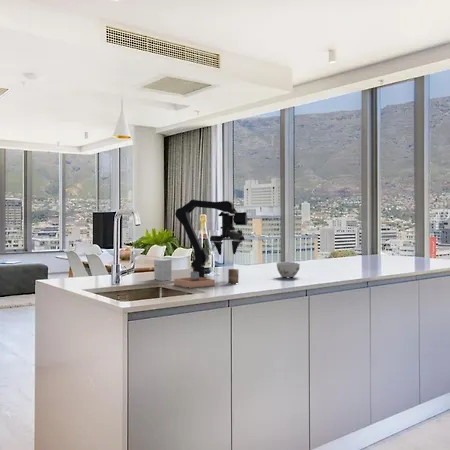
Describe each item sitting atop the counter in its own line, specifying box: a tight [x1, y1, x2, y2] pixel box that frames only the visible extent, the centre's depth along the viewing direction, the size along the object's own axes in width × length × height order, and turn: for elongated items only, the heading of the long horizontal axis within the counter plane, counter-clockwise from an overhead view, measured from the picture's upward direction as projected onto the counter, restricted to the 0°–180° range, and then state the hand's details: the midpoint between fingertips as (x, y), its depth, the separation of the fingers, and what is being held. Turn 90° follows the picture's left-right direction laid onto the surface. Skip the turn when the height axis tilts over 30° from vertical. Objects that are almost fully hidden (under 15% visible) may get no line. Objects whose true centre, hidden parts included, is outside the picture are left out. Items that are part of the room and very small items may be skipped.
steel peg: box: [190, 270, 199, 282], centre depth 248 cm, size 4×4×6 cm
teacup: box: [276, 261, 301, 278], centre depth 282 cm, size 15×12×8 cm
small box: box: [153, 258, 173, 282], centre depth 268 cm, size 8×6×10 cm
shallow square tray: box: [173, 276, 216, 289], centre depth 249 cm, size 14×14×3 cm
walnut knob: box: [227, 268, 239, 285], centre depth 257 cm, size 5×5×7 cm
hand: (227, 254), depth 272 cm, fingers open, 9 cm apart
